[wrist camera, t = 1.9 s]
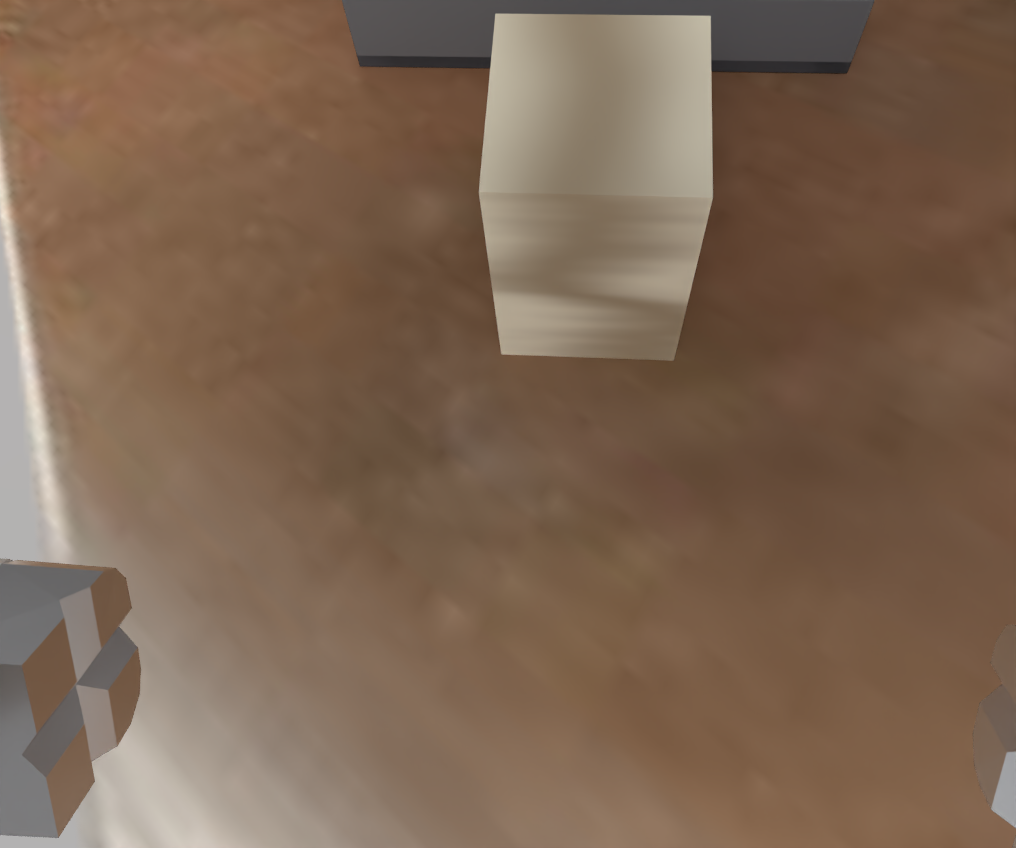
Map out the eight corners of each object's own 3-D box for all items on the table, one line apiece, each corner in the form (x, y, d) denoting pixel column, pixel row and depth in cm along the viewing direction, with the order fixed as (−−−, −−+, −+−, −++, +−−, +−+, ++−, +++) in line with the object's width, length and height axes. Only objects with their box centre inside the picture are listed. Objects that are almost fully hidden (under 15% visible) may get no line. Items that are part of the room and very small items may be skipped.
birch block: (674, 213, 30) (710, 16, 22) (674, 360, 28) (712, 197, 21) (512, 209, 30) (495, 13, 23) (501, 354, 28) (478, 192, 21)
